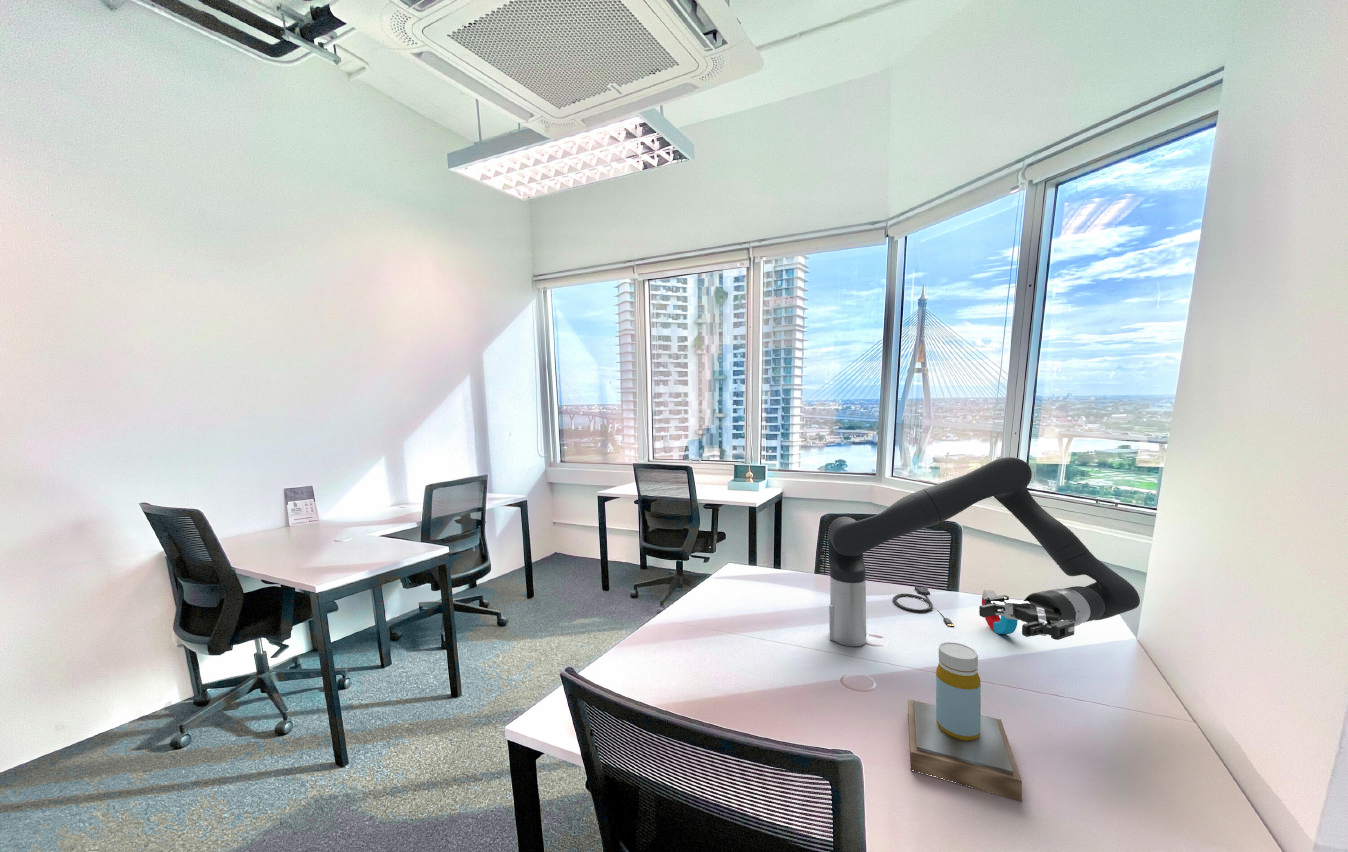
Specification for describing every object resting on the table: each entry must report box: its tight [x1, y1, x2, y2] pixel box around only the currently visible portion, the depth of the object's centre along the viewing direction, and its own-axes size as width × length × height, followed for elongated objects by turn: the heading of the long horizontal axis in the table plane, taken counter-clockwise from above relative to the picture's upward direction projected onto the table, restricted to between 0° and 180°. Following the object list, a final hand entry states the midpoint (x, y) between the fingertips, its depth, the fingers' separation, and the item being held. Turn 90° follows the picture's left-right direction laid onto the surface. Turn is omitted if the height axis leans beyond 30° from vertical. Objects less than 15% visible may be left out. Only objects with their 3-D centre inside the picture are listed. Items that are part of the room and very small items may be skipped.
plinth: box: [907, 699, 1023, 803], centre depth 86 cm, size 16×16×4 cm
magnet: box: [981, 589, 1019, 635], centre depth 130 cm, size 12×3×10 cm, turn 176°
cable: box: [892, 586, 955, 628], centre depth 149 cm, size 14×28×2 cm, turn 166°
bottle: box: [935, 641, 982, 741], centre depth 86 cm, size 7×7×15 cm
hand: (1001, 620), depth 92 cm, fingers open, 8 cm apart
